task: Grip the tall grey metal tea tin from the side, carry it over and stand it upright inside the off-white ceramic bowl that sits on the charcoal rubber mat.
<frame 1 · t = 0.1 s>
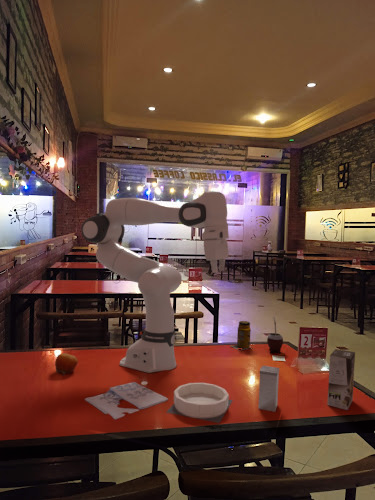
hand: (218, 271, 145), 39 cm above the table, tool pointing down, fingers open, 8 cm apart
coffee box: (340, 403, 125), on the table
printed paper sheets: (125, 403, 121), on the table
tin: (267, 408, 119), on the table
mate gourd: (274, 351, 178), on the table
condiment: (241, 347, 183), on the table
mat: (200, 407, 118), on the table
bowl: (200, 405, 118), resting on mat
fruit: (66, 372, 144), on the table
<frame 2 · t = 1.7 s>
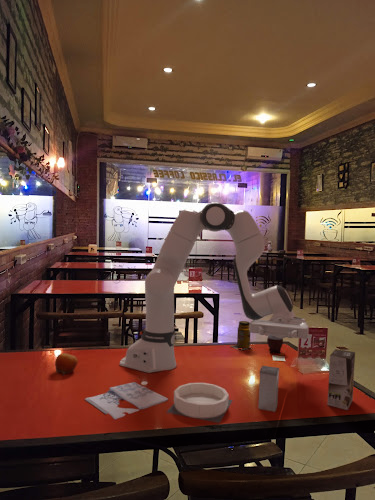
hand: (276, 334, 129), 20 cm above the table, tool horizontal, fingers open, 8 cm apart
nothing on the table moved.
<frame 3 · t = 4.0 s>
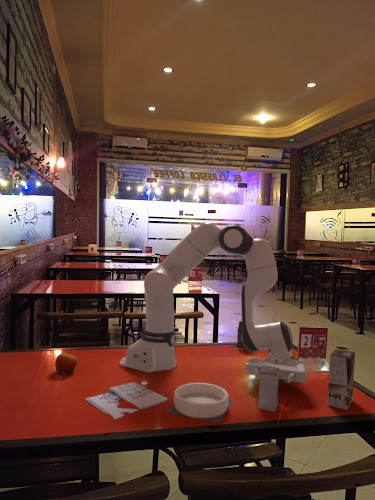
hand: (272, 378, 126), 7 cm above the table, tool horizontal, fingers open, 8 cm apart
nothing on the table moved.
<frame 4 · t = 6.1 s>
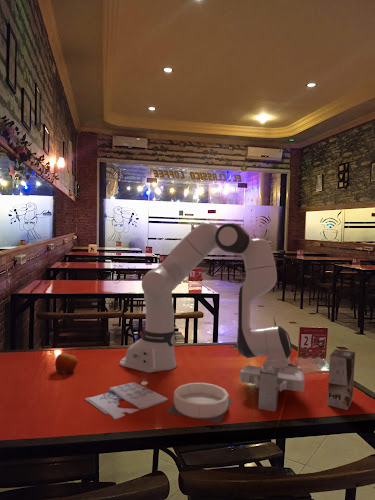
hand: (268, 387, 118), 7 cm above the table, tool horizontal, fingers closed on tin, 5 cm apart
tin: (267, 408, 119), on the table, touching gripper
everything else where it was.
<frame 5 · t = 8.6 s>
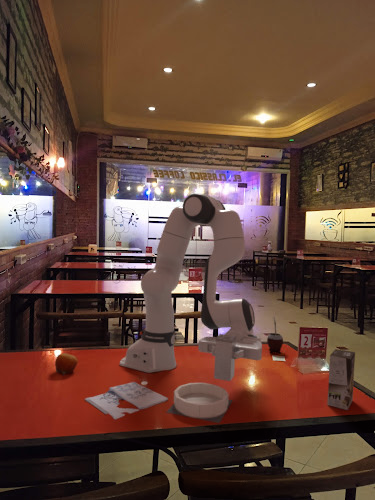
hand: (224, 354, 117), 17 cm above the table, tool horizontal, fingers closed on tin, 5 cm apart
tin: (224, 377, 118), point 10 cm above the table, touching gripper
everything else where it was.
when the fingers open (10 cm above the table, at t = 11.3 s): tin drops 1 cm, resting on bowl.
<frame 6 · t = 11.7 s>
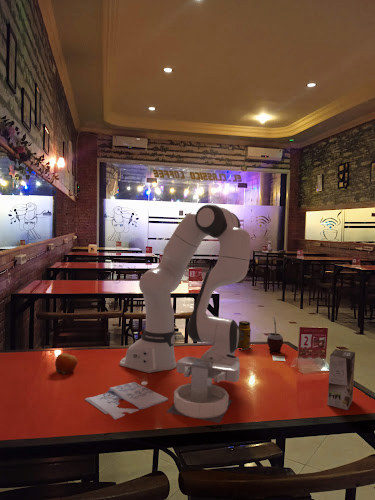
hand: (201, 377, 117), 10 cm above the table, tool horizontal, fingers open, 8 cm apart
tin: (200, 402, 118), point 2 cm above the table, touching bowl
everything else where it was.
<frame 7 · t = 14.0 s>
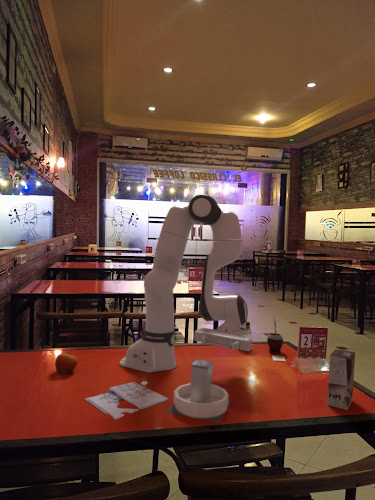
hand: (217, 344, 129), 16 cm above the table, tool horizontal, fingers open, 8 cm apart
nothing on the table moved.
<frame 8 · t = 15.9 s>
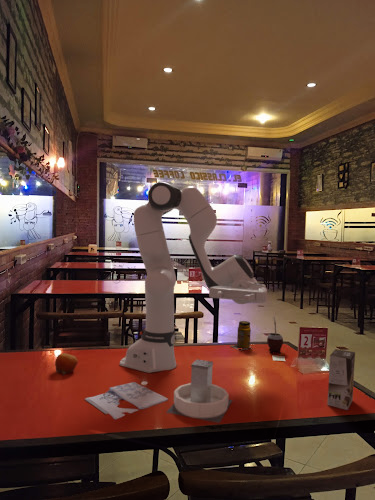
hand: (233, 296, 130), 32 cm above the table, tool horizontal, fingers open, 8 cm apart
nothing on the table moved.
at the end: tin 0.1 cm from the bowl (horizontally); tin tilted 0°; the gripper is holding nothing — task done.
